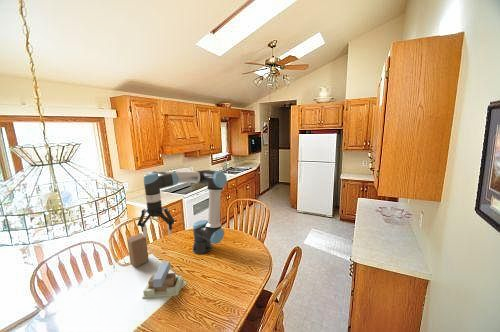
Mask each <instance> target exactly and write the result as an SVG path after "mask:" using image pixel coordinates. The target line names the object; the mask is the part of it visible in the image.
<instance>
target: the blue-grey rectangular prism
mask: <svg viewBox="0 0 500 332" xmlns="http://www.w3.org/2000/svg"><path fill="white" fill-rule="evenodd" d="M170 271H171V263H170V260H169V261H168V260H167V261H162V262H161V264H160V265H159V267H158V269H157V270H156V273H155V274H154V275H155V276H154V278H153V286H154V287H162V285H163V283H164V281H165V279H166V277H167V275H168V273H170Z"/></svg>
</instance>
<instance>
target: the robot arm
mask: <svg viewBox="0 0 500 332" xmlns="http://www.w3.org/2000/svg"><path fill="white" fill-rule="evenodd" d="M227 181H228V178H227V176H226V174H225V173H224V172H222V171H220V170H210V169H204V170H203V169H202V170H193V171H150V172H148V173H146V174H145V175H143V184H144V186H143V187H144V191H145V192H144V193H145V199H146V200H145V201H146V208H143V209H142V210H141V214H140V216H139V220H138V221H137V224H136V225H137V227H140V228H141V232H143V233H142V234H143V235H144V238H146V239H147V236H148V230H147V224H146V223H147V222H148V220H150V218H151V217H152V218H155V217H156V218H158V217H159V218H161V219H162V220H163V221H164V222H165V223H166V224H167V225H166V226H167V235H168V237H170V236H171V235H172V229H173V224H174V223H175V222H176V220H175V219H174V217H173V215H172V214H171V213H170V212H169V207H165V208H163V207H162V206H163V205H162V200H161V199H162V196H161V189H165V188H169V187H173V186H176V185H178V184H183V183H185V184H186V183H193V184H198V185H199V184H200V185H204V186H207V188H206V189H207V190H208V192H209V193H208V195H209V196H208V211H207V213H208V214H207V215H208V216H207V217H208V220H207V219H201V220H197V221H195V222H194V223H193V225H192V231H193V240H194V241H193V245H192V252H193V253H194V254H196V255H205V254H207V253H209V252H211V250H212V248H213V245H218V244H220V243H221V242H222V240H223V239H224V236H225V230H224V229H223V228H222V223H221V222H220V218H221V196H222V191H223V190H224V188H225V187H226V185H227ZM146 213H147V214H148V215H147V216H146V217H145V215H146ZM144 217H145V219H144ZM212 244H213V245H212Z"/></svg>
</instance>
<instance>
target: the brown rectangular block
mask: <svg viewBox="0 0 500 332" xmlns="http://www.w3.org/2000/svg"><path fill="white" fill-rule="evenodd" d="M154 276H155V274H151V276H150V278H149V280H148V282H147V284H148V283H149V289H153V288H155V292H158V291H166V289H167V287H175V285H176V276H177V274H176V272H168V275H167V277H166V279H165V281H164V283H163V285H162V287H154V286H153V278H154Z"/></svg>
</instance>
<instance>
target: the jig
mask: <svg viewBox="0 0 500 332" xmlns="http://www.w3.org/2000/svg"><path fill="white" fill-rule="evenodd" d="M183 282H184V278H183V276H182V275H176V285H175V287H167V289H166V291H158V292H155V288H153V289H149V283H148V282H147V284H146V286H145V287H144V289H143V290H142V291H143V295H142V297H141V298H142V299H152V298H151V297H153V298H164V296H165V297H176V296H179V293H180V290H181V287H182V285H183Z"/></svg>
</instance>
